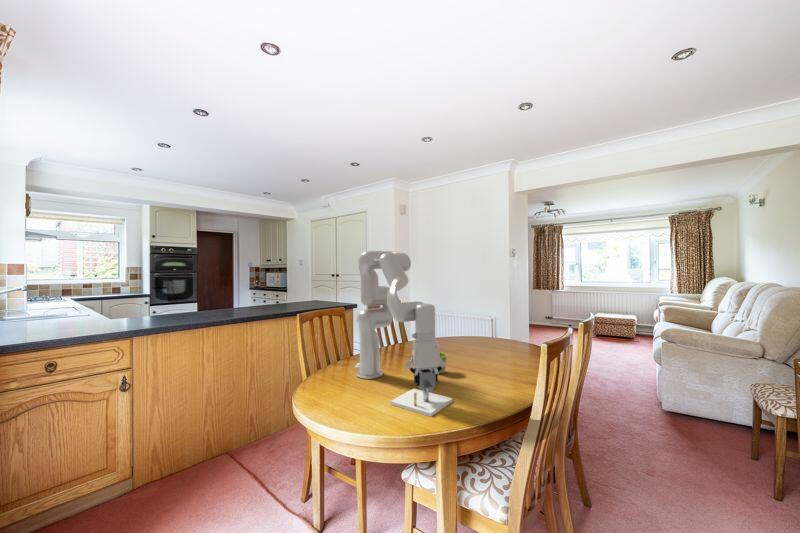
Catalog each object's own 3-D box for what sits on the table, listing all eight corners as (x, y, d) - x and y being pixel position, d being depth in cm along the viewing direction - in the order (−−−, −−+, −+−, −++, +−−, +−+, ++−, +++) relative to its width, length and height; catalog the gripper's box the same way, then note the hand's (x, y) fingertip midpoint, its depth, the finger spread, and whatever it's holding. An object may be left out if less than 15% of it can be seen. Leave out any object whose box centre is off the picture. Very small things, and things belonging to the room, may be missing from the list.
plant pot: (426, 374, 160) (426, 356, 160) (430, 368, 169) (430, 351, 169) (446, 376, 157) (445, 358, 157) (449, 370, 166) (448, 352, 166)
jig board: (390, 404, 126) (390, 401, 126) (413, 391, 139) (413, 388, 139) (430, 416, 115) (430, 413, 115) (452, 401, 128) (452, 398, 128)
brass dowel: (413, 405, 122) (413, 393, 122) (414, 404, 123) (414, 392, 123) (415, 406, 121) (415, 393, 121) (417, 405, 122) (417, 393, 122)
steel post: (422, 401, 126) (421, 388, 126) (425, 399, 128) (425, 386, 128) (427, 402, 124) (426, 389, 124) (430, 400, 126) (429, 387, 126)
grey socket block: (416, 383, 128) (416, 368, 128) (431, 382, 129) (431, 368, 129) (422, 392, 119) (422, 377, 119) (438, 391, 119) (438, 376, 119)
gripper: (404, 339, 121) (405, 389, 121) (450, 337, 124) (450, 386, 124) (401, 335, 128) (401, 382, 128) (444, 333, 131) (445, 379, 131)
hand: (425, 383), depth 126 cm, fingers closed on grey socket block, 6 cm apart
